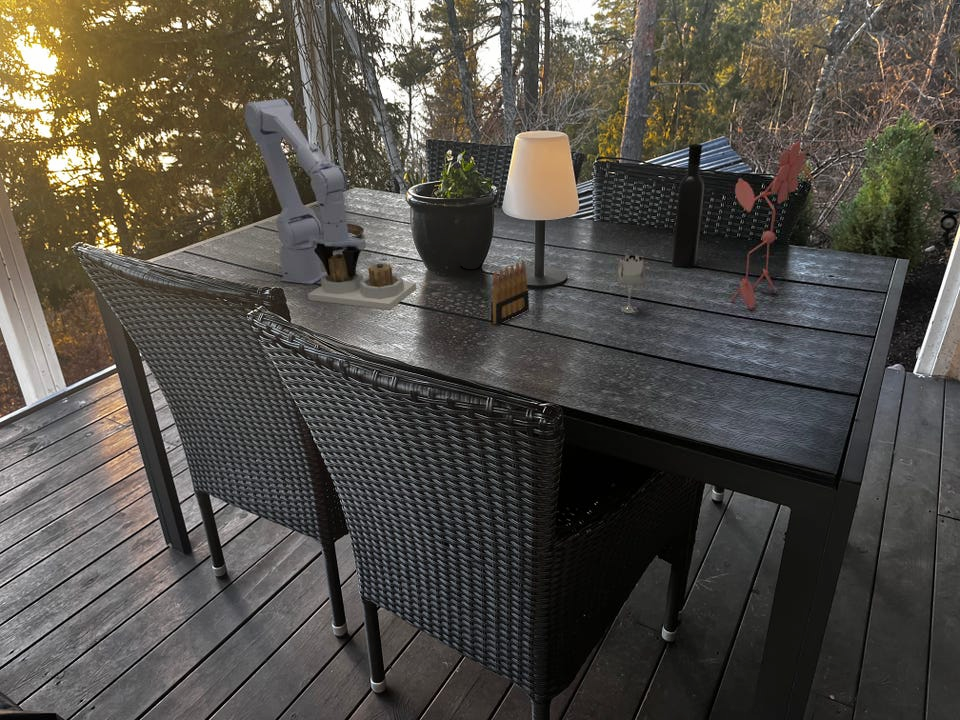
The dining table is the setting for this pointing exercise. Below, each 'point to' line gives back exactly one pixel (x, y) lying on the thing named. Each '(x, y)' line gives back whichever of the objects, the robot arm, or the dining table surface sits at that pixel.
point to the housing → (362, 292)
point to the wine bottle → (689, 212)
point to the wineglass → (630, 276)
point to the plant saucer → (352, 231)
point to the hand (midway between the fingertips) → (341, 275)
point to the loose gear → (338, 269)
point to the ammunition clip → (509, 294)
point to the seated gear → (380, 275)
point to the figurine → (783, 183)
